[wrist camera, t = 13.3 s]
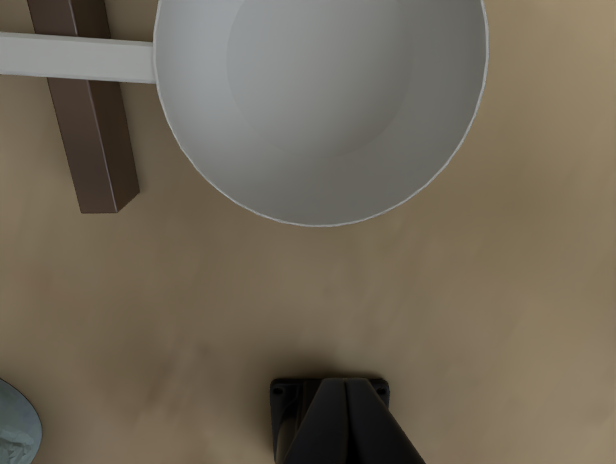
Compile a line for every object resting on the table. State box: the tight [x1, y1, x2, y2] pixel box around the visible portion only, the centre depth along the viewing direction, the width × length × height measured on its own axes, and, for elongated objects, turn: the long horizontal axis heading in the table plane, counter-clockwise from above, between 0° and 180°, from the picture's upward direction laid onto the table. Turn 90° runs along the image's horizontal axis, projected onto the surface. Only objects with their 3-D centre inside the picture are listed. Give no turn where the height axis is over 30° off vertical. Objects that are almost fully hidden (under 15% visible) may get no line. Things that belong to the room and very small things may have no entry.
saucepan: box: [0, 0, 489, 227], centre depth 16 cm, size 11×18×4 cm, turn 86°
